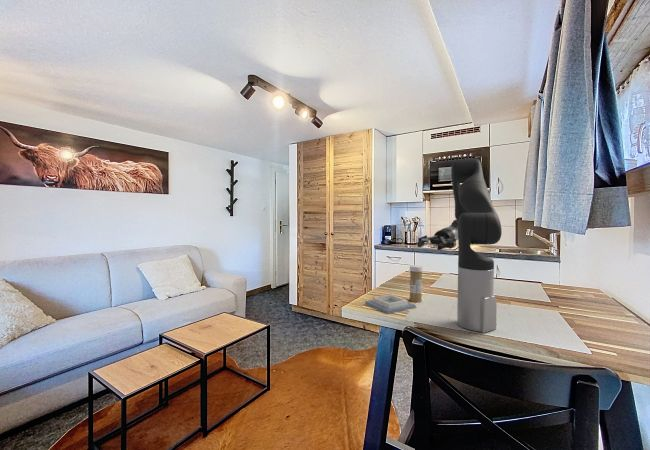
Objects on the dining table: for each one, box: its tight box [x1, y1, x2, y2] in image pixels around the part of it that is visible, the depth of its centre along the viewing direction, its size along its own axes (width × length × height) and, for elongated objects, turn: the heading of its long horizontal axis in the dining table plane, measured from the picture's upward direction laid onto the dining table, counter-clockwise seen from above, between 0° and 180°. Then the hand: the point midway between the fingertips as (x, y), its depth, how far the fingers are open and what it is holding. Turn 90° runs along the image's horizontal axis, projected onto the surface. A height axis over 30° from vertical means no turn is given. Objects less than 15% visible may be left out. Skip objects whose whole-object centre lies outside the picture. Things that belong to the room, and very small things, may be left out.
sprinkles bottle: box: [409, 264, 423, 303], centre depth 106 cm, size 5×5×14 cm
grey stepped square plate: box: [365, 294, 417, 315], centre depth 99 cm, size 12×13×2 cm
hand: (428, 246), depth 111 cm, fingers open, 8 cm apart
